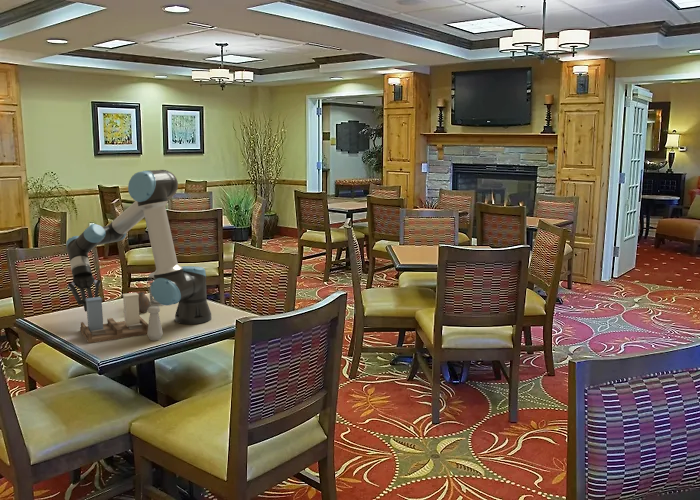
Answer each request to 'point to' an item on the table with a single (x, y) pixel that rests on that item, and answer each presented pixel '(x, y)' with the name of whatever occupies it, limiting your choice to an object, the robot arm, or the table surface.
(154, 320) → the salt shaker
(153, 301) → the french press
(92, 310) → the blue-grey rectangular block
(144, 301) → the vase
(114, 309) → the table surface
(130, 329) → the wooden divided tray
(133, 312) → the cream tall block
